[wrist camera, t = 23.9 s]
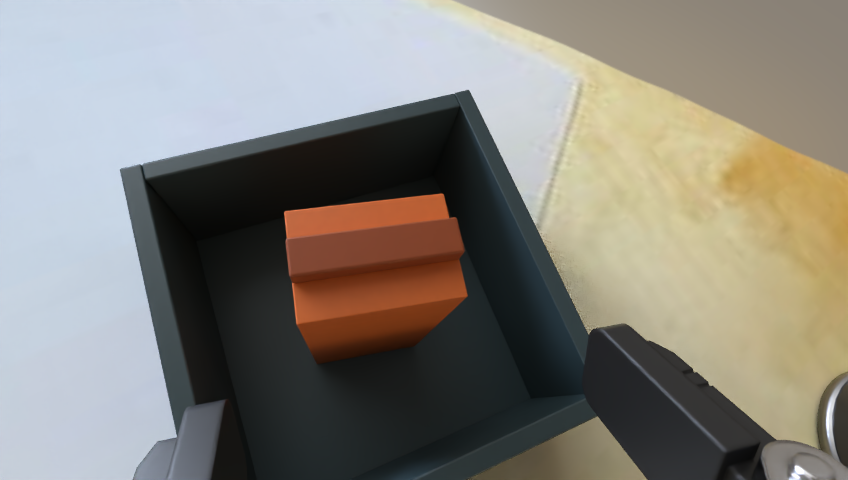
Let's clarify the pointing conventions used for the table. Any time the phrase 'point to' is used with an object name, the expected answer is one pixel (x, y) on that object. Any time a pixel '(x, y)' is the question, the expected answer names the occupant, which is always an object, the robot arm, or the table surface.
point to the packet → (373, 274)
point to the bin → (370, 374)
